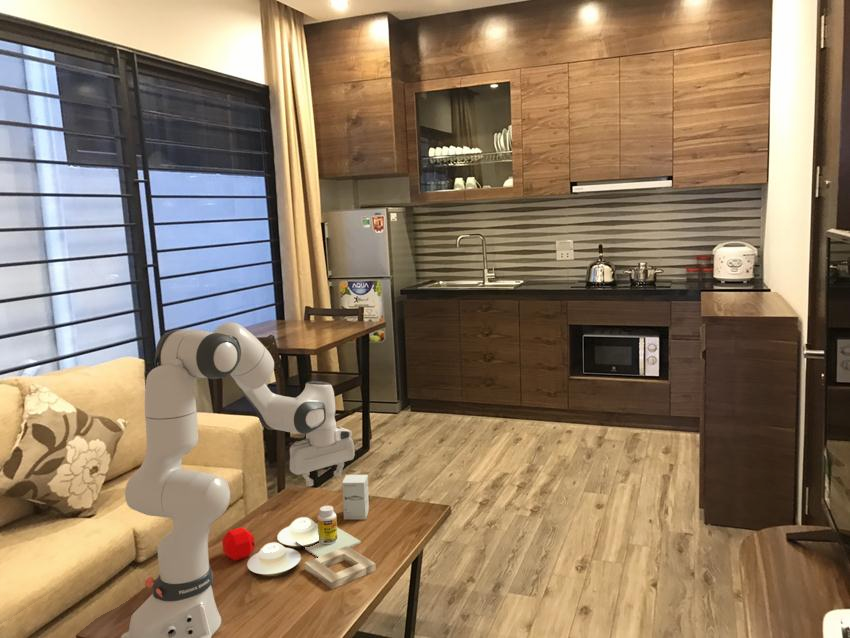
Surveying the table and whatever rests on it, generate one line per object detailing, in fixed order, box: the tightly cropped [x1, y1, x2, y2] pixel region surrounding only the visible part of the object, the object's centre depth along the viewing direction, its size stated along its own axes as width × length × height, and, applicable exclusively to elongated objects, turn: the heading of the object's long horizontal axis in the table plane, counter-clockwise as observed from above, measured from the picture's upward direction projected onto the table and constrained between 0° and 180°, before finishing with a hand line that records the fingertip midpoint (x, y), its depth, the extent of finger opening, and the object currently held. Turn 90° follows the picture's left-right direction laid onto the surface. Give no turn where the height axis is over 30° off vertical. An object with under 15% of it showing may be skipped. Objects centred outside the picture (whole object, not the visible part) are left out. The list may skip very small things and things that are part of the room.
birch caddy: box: [304, 546, 377, 590], centre depth 187 cm, size 14×14×2 cm
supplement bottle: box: [317, 505, 338, 544], centre depth 203 cm, size 6×6×10 cm
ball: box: [222, 526, 256, 562], centre depth 197 cm, size 8×8×8 cm
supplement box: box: [341, 474, 370, 521], centre depth 221 cm, size 7×7×13 cm
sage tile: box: [304, 526, 362, 558], centre depth 204 cm, size 14×14×1 cm
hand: (323, 481), depth 201 cm, fingers open, 8 cm apart
